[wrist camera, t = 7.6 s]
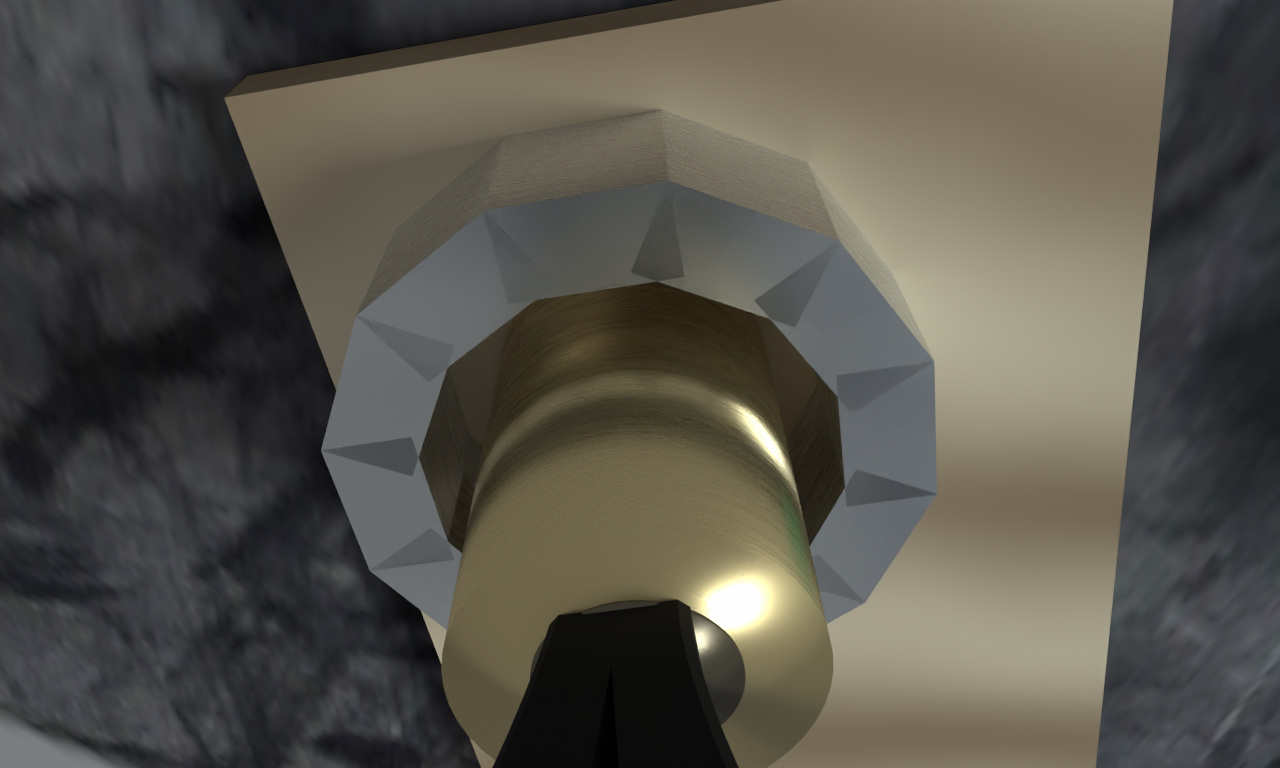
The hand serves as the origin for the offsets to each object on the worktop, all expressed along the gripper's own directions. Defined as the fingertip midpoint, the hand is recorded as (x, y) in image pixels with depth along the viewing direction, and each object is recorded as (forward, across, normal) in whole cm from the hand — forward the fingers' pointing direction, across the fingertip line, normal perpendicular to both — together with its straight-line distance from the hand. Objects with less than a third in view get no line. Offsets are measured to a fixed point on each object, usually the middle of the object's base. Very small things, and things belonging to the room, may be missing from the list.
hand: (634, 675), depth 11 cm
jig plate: (+7, -2, +3) cm, 8 cm away
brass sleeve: (+6, 0, 0) cm, 6 cm away
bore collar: (+7, 0, 0) cm, 7 cm away
